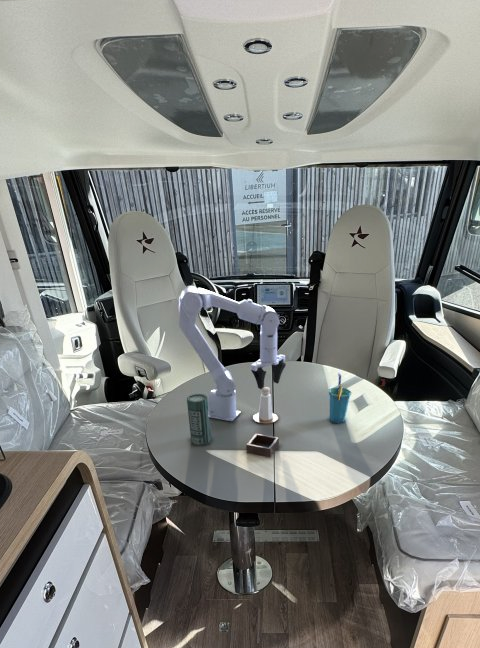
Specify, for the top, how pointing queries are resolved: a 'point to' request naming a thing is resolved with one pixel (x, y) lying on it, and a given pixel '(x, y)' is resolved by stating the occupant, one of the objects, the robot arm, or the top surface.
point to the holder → (260, 450)
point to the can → (199, 419)
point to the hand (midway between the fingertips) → (268, 385)
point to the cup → (339, 402)
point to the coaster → (256, 419)
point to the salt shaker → (265, 405)
